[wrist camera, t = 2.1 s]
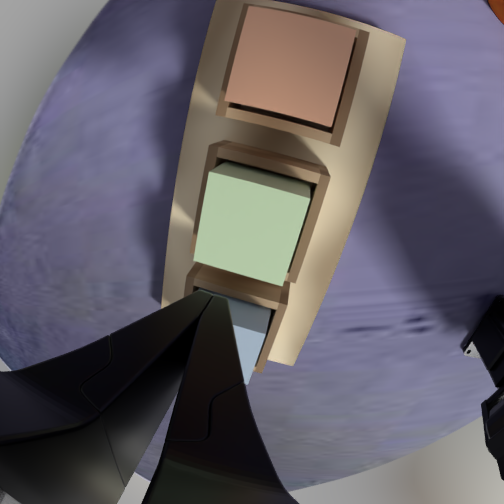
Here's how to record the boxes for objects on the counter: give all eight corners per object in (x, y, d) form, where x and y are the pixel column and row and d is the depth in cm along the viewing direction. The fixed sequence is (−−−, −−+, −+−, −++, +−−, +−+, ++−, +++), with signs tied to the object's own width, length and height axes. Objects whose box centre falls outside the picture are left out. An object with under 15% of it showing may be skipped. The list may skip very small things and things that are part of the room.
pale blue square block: (272, 302, 19) (265, 334, 16) (255, 352, 21) (247, 384, 18) (202, 282, 19) (186, 310, 16) (193, 334, 21) (179, 363, 18)
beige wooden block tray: (397, 45, 14) (423, 27, 10) (294, 349, 25) (290, 394, 21) (226, 4, 15) (202, -25, 11) (169, 312, 26) (144, 349, 21)
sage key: (309, 183, 15) (310, 198, 13) (286, 258, 17) (282, 286, 15) (226, 161, 16) (209, 171, 13) (211, 237, 18) (193, 260, 15)
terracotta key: (347, 45, 12) (356, 30, 9) (326, 125, 14) (331, 127, 11) (259, 24, 12) (248, 5, 10) (239, 103, 14) (224, 100, 12)
